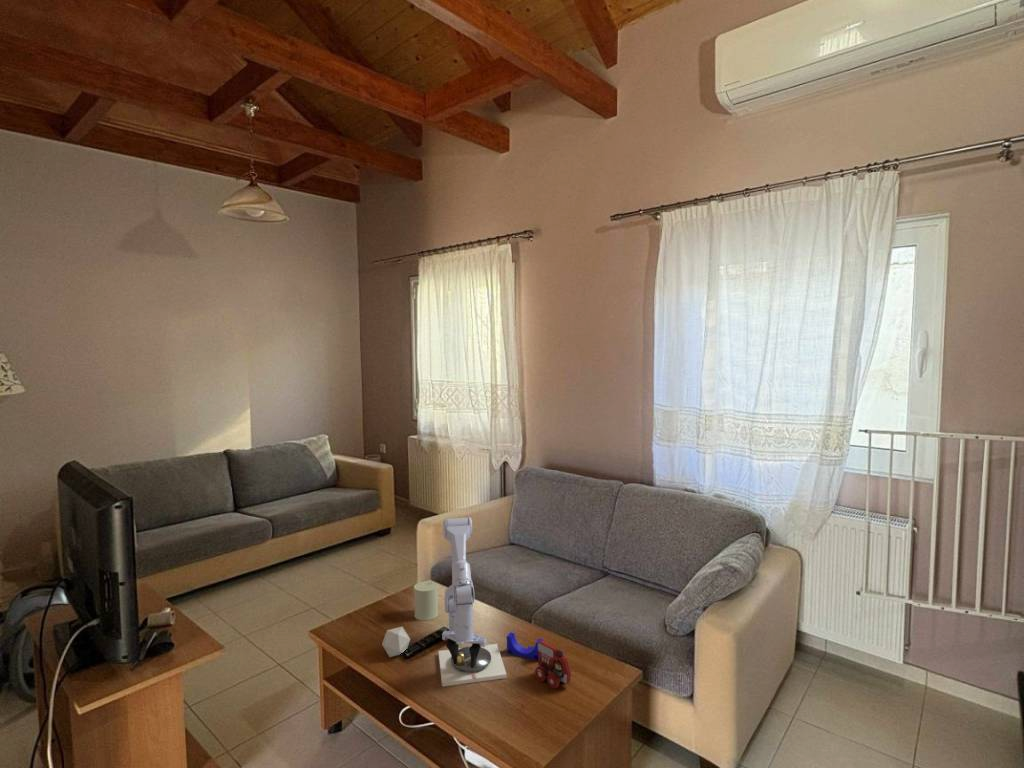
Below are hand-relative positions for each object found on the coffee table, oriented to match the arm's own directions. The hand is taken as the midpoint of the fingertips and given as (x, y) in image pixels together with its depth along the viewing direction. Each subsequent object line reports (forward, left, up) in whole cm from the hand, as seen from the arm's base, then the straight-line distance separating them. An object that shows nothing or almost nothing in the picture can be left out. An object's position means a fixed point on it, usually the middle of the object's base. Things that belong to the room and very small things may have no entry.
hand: (464, 664), depth 168 cm
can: (-42, -10, -3) cm, 43 cm away
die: (-17, -21, -3) cm, 27 cm away
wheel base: (-4, +3, -3) cm, 5 cm away
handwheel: (-4, +2, -1) cm, 5 cm away
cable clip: (-7, +21, -4) cm, 23 cm away
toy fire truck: (+9, +27, -3) cm, 28 cm away
